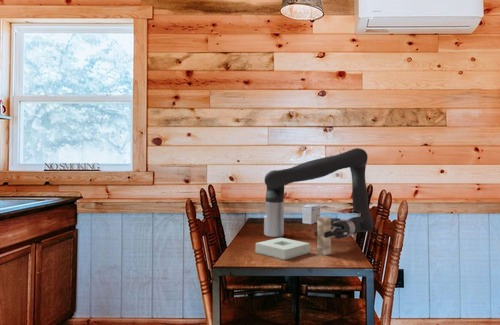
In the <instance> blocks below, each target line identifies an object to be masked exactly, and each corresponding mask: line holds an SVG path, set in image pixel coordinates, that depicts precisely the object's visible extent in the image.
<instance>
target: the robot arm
mask: <svg viewBox="0 0 500 325" xmlns="http://www.w3.org/2000/svg"><path fill="white" fill-rule="evenodd" d="M368 156H369V155H368V153H367V152H366V150H364V149H363V148H361V147H360V148H357V147H356V148H353V149H349V150H348V151H345V152H342V153H339V154H335V155H330V156H325V157H320V158H318V159H316V158H315V159H313V160H312V159H311V160H310V161H309V160H308V161H305V162H302V163H299V164H297V165H294V166H291V167H288V168H283V169H277V170H276V169H275V170H270V171H268V172H267V173H266V175H265V176H264V184H265V185H266V193H265V194H266V195H265V215H264V217H263V235H265V236H266V237H271V238H281V237H283V236H284V233H285V232H284V229H285V228H284V225H285V223H284V222H285V221H284V218H285V216H284V212H285V210H284V209H285V208H284V204H285V203H284V200H285V186H286V185H289V184H292V183H298V182H306V181H310V180H311V181H312V180H315V179H320V178H324V177H326V176H329V175H331V174H333V173H335V172H337V171H340V170H343V169H348V168H349V169H350V173H351V174H350V175H351V182H352V183H351V184H352V185H351V186H352V188H351V190H352V191H351V195H352V209H353V211H354V212H356V213H357V212H358V213H360V214H361V216H355V217H351V218H347V219H340V220H337V221H336V220H335V221H333V222H331V231H328V232H324V237H325V238H327V237H331V238H334V239H338V240H340V239H344V238H347V237H350V236H353V235H355V234H358V233H362V232H365V233H367V232H371V231H373V229H374V220H373V218H372V214H371V211H370V208H369V198H368V197H369V196H368V189H367V183H366V167H367V162H368V158H369V157H368ZM314 237H317V229H316V230H315V231H314Z"/></svg>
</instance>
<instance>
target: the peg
mask: <svg viewBox="0 0 500 325" xmlns="http://www.w3.org/2000/svg"><path fill="white" fill-rule="evenodd" d="M331 221H332V217H330V216H329V217H328V216H320V217H318V218H317V223H316V224H317V225H316V227H317V228H316V230H317V236H316V242H317V243H316V244H317V245H316V250H317V251H316V253H317V255H321V256H329V255H331V254H332V237H327V238H325V237H324V232H328V231H331V224H332V222H331Z"/></svg>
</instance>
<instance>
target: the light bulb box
mask: <svg viewBox="0 0 500 325" xmlns="http://www.w3.org/2000/svg"><path fill="white" fill-rule="evenodd" d="M301 207H302V208H301V211H302V215H301V216H302V224H308V225H313V224H317V218H318V217H321V205H320V204H314V203H313V204H312V203H311V204H306V205H302V206H301Z"/></svg>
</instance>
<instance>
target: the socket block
mask: <svg viewBox="0 0 500 325" xmlns="http://www.w3.org/2000/svg"><path fill="white" fill-rule="evenodd" d="M310 245H311V244H310V243H309V242H305V241H301V240H295V239H290V238H284V237H275V238H272V239H268V240H263V241H259V242H258V241H257V242H255V251H254V252H255V253H256V254H259V255H263V256H267V257H270V258H275V259H279V260H283V261H287V260H290V259H293V258H296V257H301V256H304V255H308V254H310V253H311V252H310V249H311V248H310V247H311V246H310Z"/></svg>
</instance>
